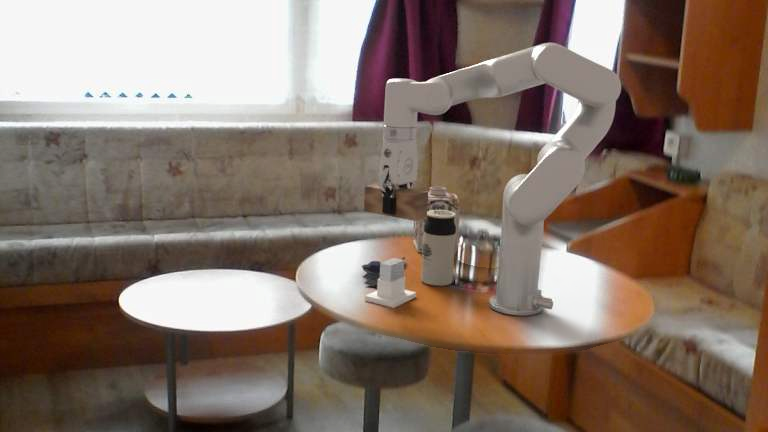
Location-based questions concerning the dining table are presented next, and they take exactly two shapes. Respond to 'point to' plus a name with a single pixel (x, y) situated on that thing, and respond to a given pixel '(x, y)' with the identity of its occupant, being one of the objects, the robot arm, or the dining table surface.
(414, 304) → the dining table surface
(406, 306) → the dining table surface
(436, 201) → the decorative jar
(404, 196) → the wooden block
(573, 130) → the robot arm
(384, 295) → the fulcrum stand
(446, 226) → the travel mug
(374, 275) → the decorative bat
